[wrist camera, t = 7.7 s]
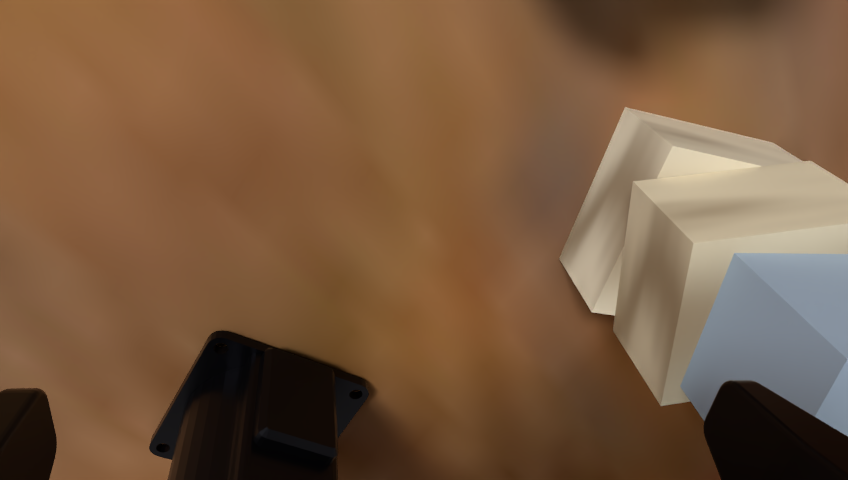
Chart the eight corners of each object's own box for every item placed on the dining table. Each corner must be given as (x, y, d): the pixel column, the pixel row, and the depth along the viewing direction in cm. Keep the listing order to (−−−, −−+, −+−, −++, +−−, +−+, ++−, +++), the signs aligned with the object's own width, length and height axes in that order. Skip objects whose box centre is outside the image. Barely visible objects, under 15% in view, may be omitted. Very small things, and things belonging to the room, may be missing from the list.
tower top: (767, 308, 22) (838, 378, 19) (612, 330, 22) (660, 406, 19) (810, 160, 19) (900, 216, 16) (632, 181, 19) (693, 243, 16)
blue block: (816, 381, 19) (926, 495, 16) (680, 386, 18) (763, 507, 15) (886, 254, 17) (1030, 354, 14) (734, 252, 16) (846, 358, 13)
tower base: (692, 278, 26) (741, 333, 23) (557, 255, 24) (591, 312, 21) (769, 140, 23) (837, 183, 20) (622, 105, 21) (672, 145, 18)
